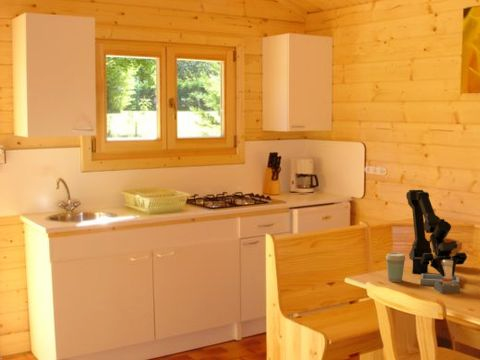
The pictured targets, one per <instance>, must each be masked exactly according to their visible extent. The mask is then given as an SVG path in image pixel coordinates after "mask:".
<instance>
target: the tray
mask: <svg viewBox="0 0 480 360" xmlns="http://www.w3.org/2000/svg"><path fill="white" fill-rule="evenodd" d="M459 277H460V276H459V275H454V276H452V281H453V282H455V283H457V284H458V285H460V278H459ZM442 279H443V276H442V275H441V274H436V273H435V274H433V273H427V274H420V284H419V285H420V286H429V287H430V286H431V287H434V281H443V280H442Z"/></svg>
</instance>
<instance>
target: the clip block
mask: <svg viewBox="0 0 480 360" xmlns="http://www.w3.org/2000/svg"><path fill="white" fill-rule="evenodd" d="M442 283H443V281H434V286H433V288H434V290H436V291H437V292H439V293H441V294H461V285H460V284H459V285H458V284H457V283H455V282H453V281H452V285H448V286H443V285H442Z"/></svg>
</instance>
